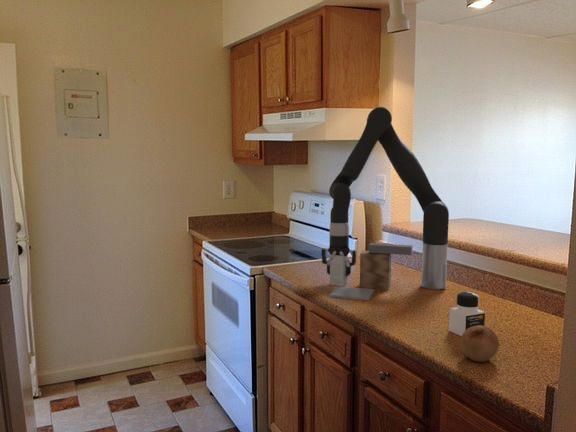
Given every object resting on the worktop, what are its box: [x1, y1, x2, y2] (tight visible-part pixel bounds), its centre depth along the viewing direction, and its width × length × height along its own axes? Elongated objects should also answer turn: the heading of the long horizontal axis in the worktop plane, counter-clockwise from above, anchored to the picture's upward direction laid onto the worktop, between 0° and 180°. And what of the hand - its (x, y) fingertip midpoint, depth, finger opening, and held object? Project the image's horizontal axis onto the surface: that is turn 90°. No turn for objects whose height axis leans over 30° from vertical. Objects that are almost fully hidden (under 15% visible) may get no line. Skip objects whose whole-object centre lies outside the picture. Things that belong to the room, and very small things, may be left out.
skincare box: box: [329, 254, 349, 287], centre depth 210 cm, size 6×4×12 cm
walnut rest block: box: [359, 250, 392, 291], centre depth 206 cm, size 11×6×14 cm, turn 72°
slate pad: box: [329, 285, 375, 301], centre depth 197 cm, size 14×12×1 cm
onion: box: [459, 325, 500, 363], centre depth 137 cm, size 10×9×10 cm
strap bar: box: [368, 242, 414, 256], centre depth 203 cm, size 16×4×3 cm, turn 72°
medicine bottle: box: [448, 291, 486, 337], centre depth 156 cm, size 7×7×12 cm
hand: (338, 274), depth 211 cm, fingers closed on skincare box, 6 cm apart
